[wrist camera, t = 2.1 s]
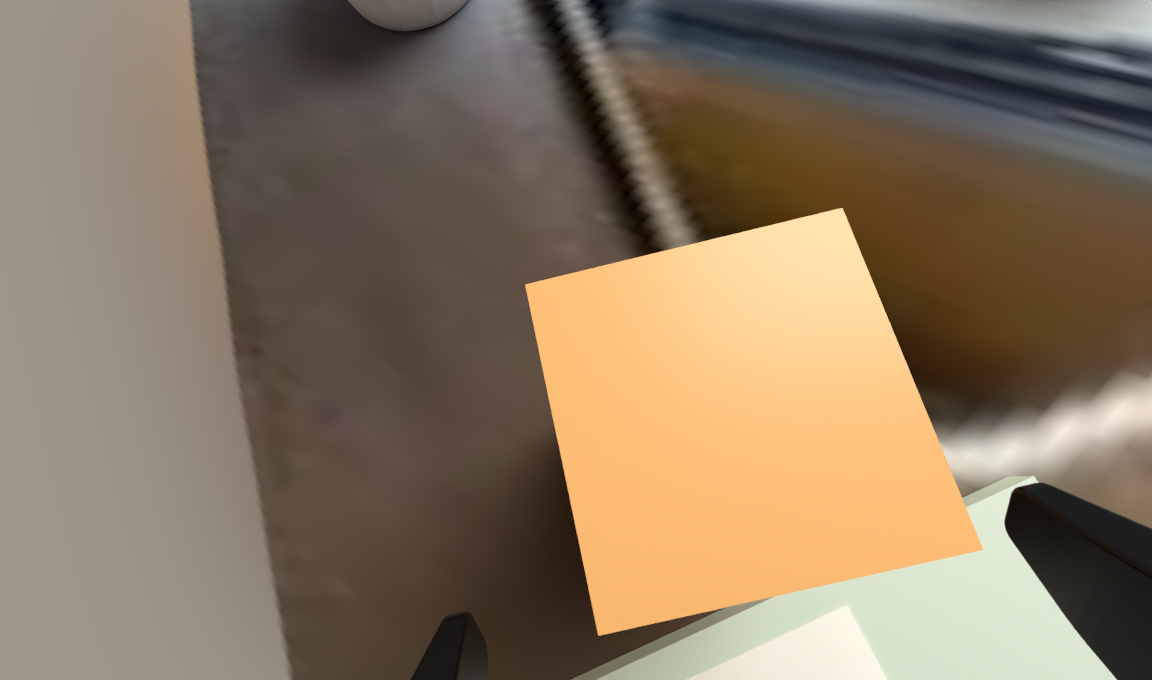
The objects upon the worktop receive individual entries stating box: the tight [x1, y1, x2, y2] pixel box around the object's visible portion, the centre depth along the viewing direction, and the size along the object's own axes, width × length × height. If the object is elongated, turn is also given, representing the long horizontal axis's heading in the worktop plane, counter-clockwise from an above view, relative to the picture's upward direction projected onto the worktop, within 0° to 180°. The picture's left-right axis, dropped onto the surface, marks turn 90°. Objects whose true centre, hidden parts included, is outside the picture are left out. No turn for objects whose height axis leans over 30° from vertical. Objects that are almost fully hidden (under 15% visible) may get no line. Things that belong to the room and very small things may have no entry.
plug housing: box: [525, 208, 983, 636], centre depth 13 cm, size 4×4×13 cm
